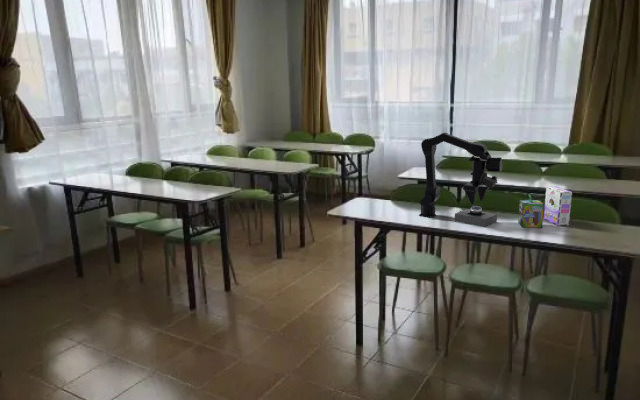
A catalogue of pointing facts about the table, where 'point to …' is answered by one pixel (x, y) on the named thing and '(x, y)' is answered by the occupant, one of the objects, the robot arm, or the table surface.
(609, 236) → the table surface
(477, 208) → the lens
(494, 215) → the camera body
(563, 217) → the candy box
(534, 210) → the chalk box
